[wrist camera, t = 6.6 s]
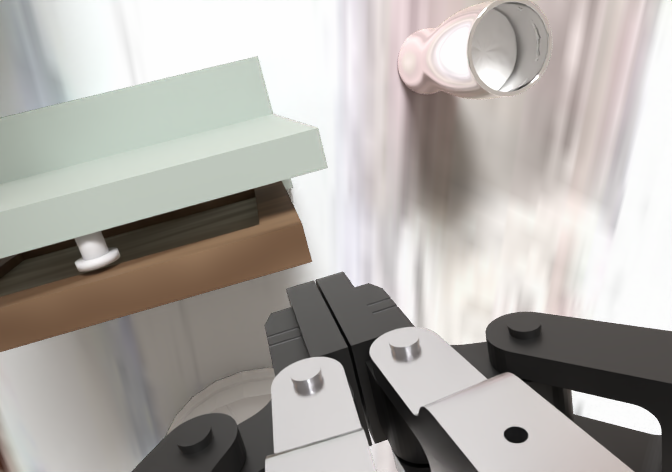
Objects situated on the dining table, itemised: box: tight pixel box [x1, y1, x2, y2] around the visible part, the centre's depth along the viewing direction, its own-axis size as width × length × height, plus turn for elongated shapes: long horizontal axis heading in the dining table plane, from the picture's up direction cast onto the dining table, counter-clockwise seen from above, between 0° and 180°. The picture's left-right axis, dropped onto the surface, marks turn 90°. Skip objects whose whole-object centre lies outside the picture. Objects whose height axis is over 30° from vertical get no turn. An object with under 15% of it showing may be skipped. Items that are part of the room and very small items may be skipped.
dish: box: [165, 368, 275, 437], centre depth 54 cm, size 22×22×5 cm
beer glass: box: [398, 0, 552, 100], centre depth 42 cm, size 7×7×15 cm
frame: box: [0, 181, 312, 352], centre depth 30 cm, size 2×20×14 cm, turn 104°
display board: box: [0, 56, 328, 272], centre depth 34 cm, size 12×24×24 cm, turn 104°
